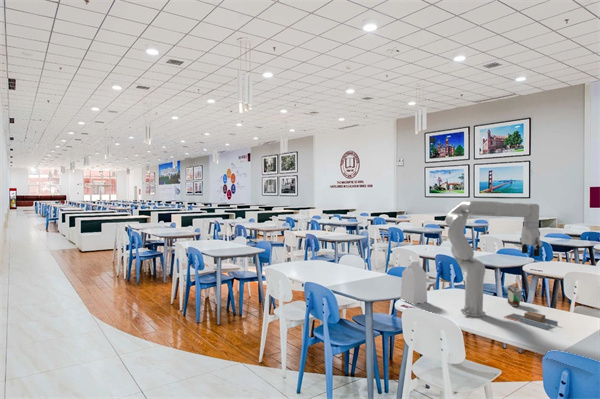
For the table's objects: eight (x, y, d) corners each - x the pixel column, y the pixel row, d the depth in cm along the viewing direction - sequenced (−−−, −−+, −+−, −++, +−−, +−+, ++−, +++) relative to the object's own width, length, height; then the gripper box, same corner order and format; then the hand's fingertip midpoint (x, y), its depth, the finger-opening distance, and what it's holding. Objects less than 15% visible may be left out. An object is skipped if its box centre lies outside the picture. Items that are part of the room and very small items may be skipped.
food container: (524, 308, 234) (525, 292, 234) (513, 307, 236) (514, 291, 235) (517, 302, 246) (517, 287, 246) (506, 302, 248) (507, 286, 247)
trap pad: (518, 321, 211) (518, 320, 211) (503, 317, 218) (503, 316, 218) (527, 317, 217) (527, 316, 217) (513, 313, 224) (513, 312, 224)
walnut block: (539, 326, 204) (540, 317, 204) (524, 322, 211) (524, 313, 211) (545, 324, 208) (545, 315, 207) (529, 320, 214) (529, 311, 214)
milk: (413, 304, 239) (414, 263, 238) (400, 300, 249) (401, 260, 248) (427, 302, 245) (428, 261, 244) (413, 297, 255) (414, 258, 254)
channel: (547, 330, 199) (548, 325, 199) (519, 322, 210) (520, 317, 210) (557, 325, 205) (557, 321, 205) (529, 318, 216) (529, 314, 216)
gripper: (515, 223, 230) (514, 252, 230) (535, 226, 212) (534, 257, 213) (526, 223, 230) (526, 252, 231) (548, 226, 213) (547, 257, 214)
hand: (530, 254), depth 222 cm, fingers open, 9 cm apart
